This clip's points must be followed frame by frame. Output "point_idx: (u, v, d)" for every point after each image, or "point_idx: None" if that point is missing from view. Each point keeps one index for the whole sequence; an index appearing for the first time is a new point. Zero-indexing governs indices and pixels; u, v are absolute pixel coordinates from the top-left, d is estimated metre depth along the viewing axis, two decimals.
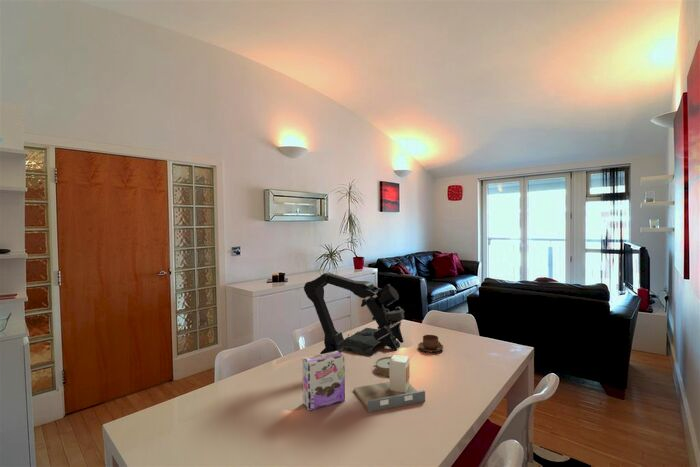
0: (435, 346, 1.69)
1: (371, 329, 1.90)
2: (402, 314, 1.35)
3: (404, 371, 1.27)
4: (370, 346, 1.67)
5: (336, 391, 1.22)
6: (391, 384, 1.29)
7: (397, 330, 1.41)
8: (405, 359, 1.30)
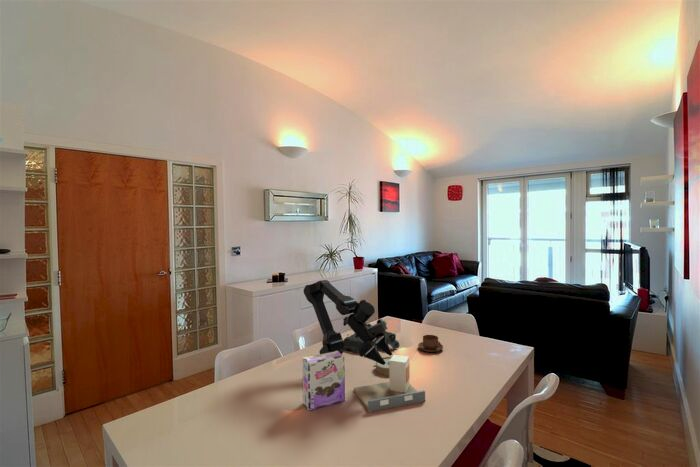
0: (435, 346, 1.69)
1: None
2: (384, 325, 1.32)
3: (404, 371, 1.27)
4: None
5: (336, 391, 1.22)
6: (391, 384, 1.29)
7: (384, 344, 1.38)
8: (405, 359, 1.30)
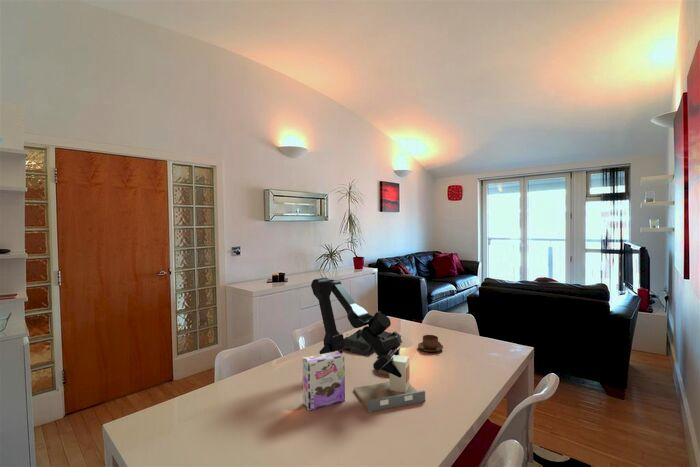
0: (435, 346, 1.69)
1: None
2: (399, 339, 1.30)
3: (404, 371, 1.27)
4: (369, 346, 1.67)
5: (336, 391, 1.22)
6: (391, 384, 1.29)
7: None
8: (405, 359, 1.30)
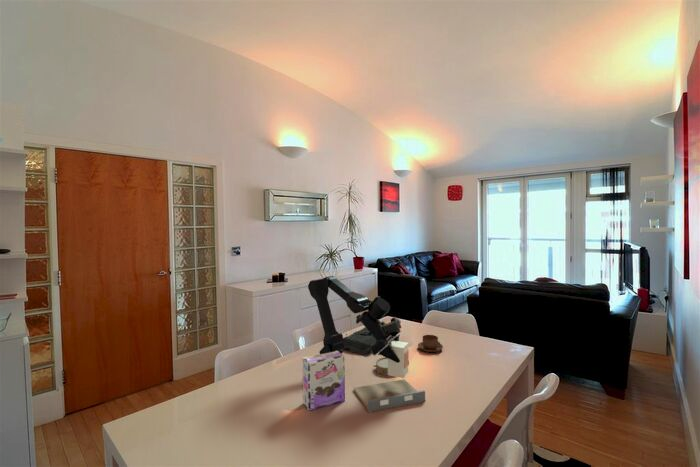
0: (435, 346, 1.69)
1: None
2: (398, 324, 1.29)
3: (402, 356, 1.26)
4: (368, 346, 1.68)
5: (336, 391, 1.22)
6: (389, 369, 1.28)
7: None
8: (404, 345, 1.29)
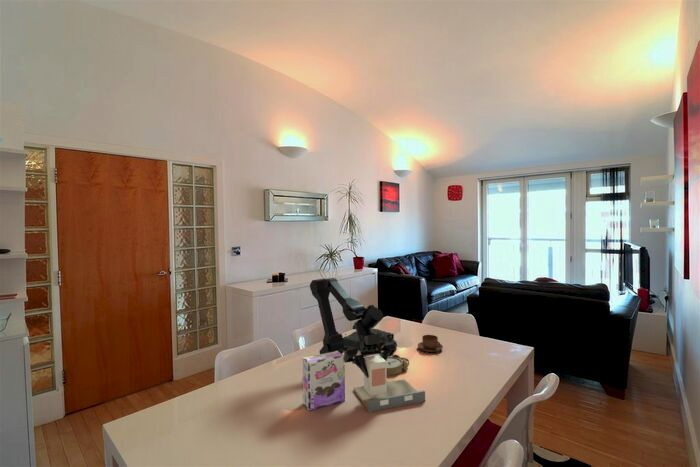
0: (434, 346, 1.69)
1: None
2: (374, 338, 1.22)
3: (369, 372, 1.19)
4: None
5: (336, 391, 1.22)
6: (364, 382, 1.24)
7: None
8: (377, 362, 1.20)
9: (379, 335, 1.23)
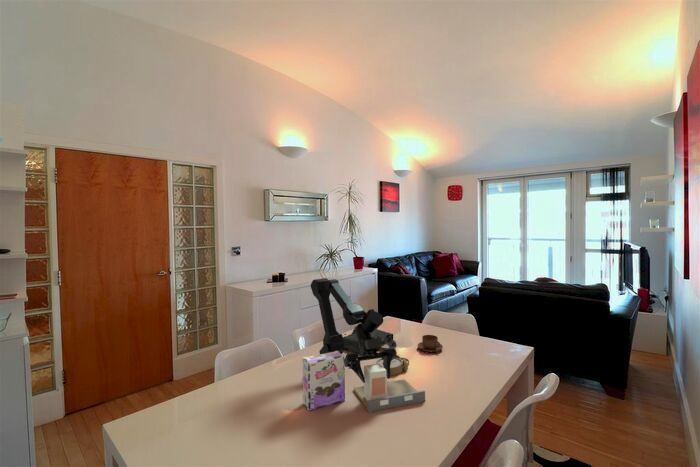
0: (434, 346, 1.69)
1: None
2: (374, 343, 1.22)
3: (369, 381, 1.19)
4: None
5: (336, 391, 1.22)
6: (365, 391, 1.24)
7: (386, 364, 1.25)
8: (377, 370, 1.20)
9: (379, 340, 1.23)
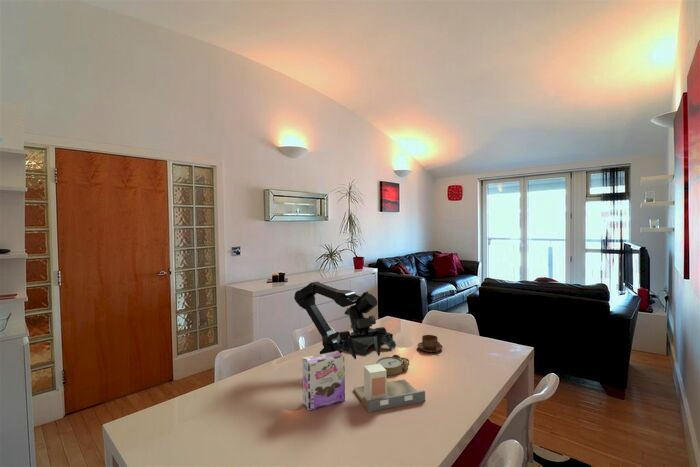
0: (434, 346, 1.69)
1: None
2: (365, 322, 1.30)
3: (369, 381, 1.19)
4: (365, 345, 1.68)
5: (336, 391, 1.22)
6: (365, 391, 1.24)
7: (376, 342, 1.33)
8: (377, 370, 1.20)
9: (370, 319, 1.31)
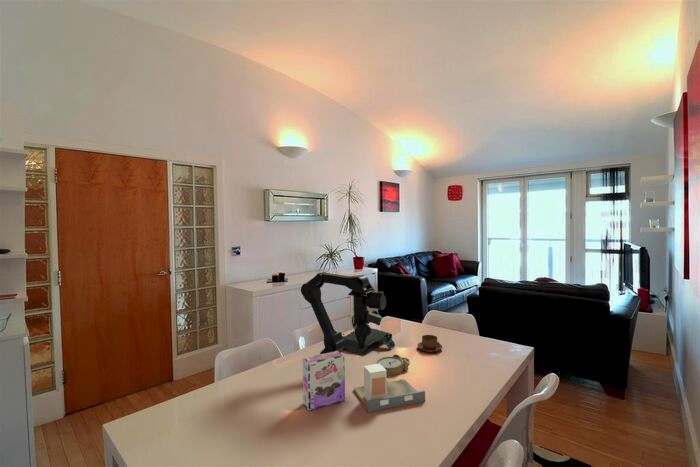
0: (434, 346, 1.69)
1: None
2: None
3: (369, 381, 1.19)
4: (364, 345, 1.68)
5: (336, 391, 1.22)
6: (365, 391, 1.24)
7: None
8: (377, 370, 1.20)
9: None
